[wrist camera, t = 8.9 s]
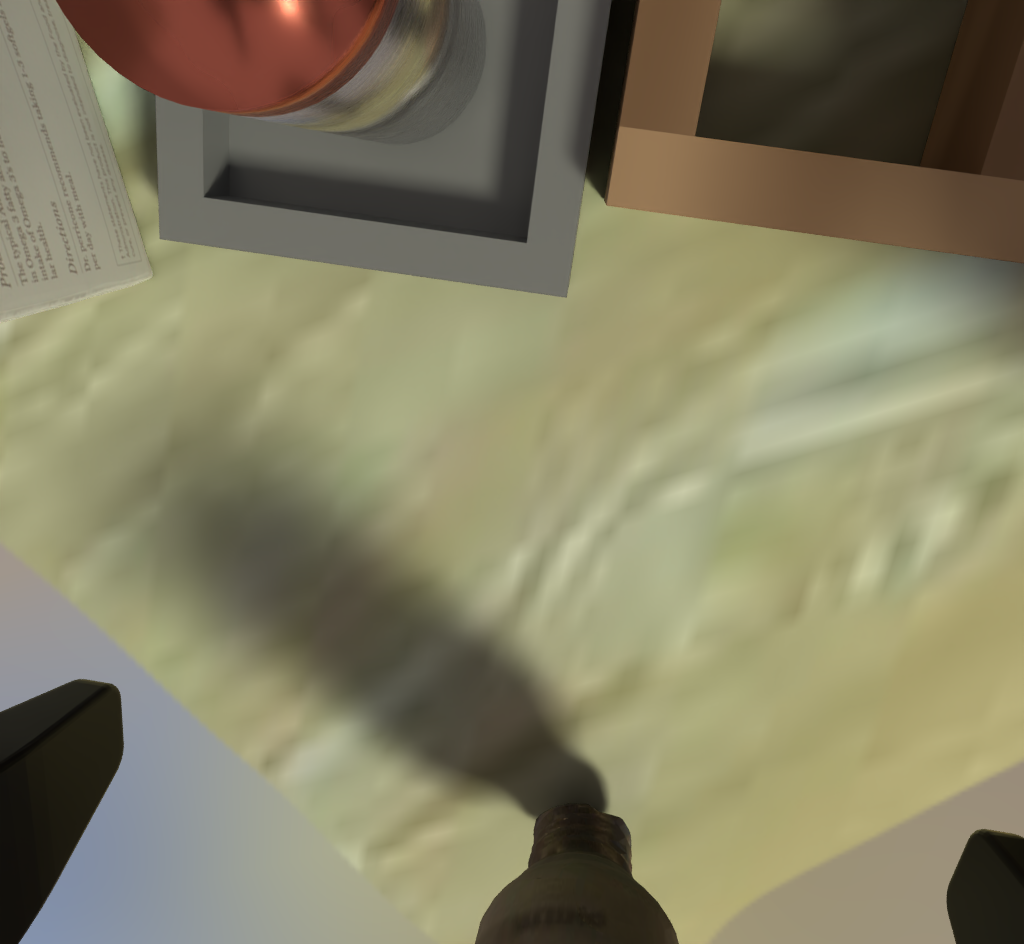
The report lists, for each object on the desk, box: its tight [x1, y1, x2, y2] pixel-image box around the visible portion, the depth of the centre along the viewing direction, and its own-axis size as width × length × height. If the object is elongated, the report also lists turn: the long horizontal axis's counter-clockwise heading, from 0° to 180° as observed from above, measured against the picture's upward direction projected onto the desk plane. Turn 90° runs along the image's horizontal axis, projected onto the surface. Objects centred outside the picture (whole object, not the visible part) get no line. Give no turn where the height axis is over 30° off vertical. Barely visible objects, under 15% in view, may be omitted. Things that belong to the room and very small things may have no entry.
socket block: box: [604, 0, 1024, 263], centre depth 15 cm, size 8×8×3 cm
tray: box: [155, 0, 612, 298], centre depth 16 cm, size 9×9×2 cm
